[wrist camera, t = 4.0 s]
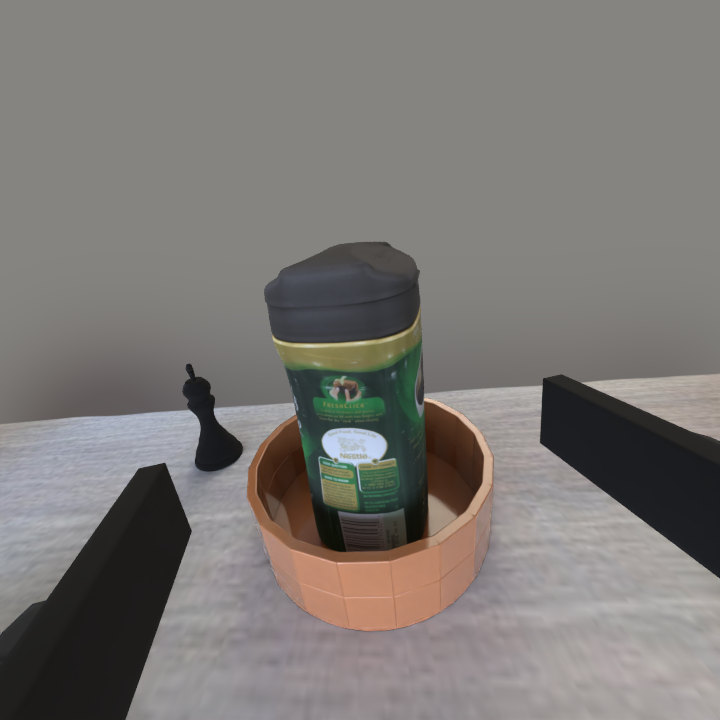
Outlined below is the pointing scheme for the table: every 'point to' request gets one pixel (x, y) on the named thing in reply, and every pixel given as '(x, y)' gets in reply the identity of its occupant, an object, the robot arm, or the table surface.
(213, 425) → the chess piece
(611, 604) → the table surface
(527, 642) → the table surface
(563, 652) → the table surface
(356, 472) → the coffee jar
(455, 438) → the pot
